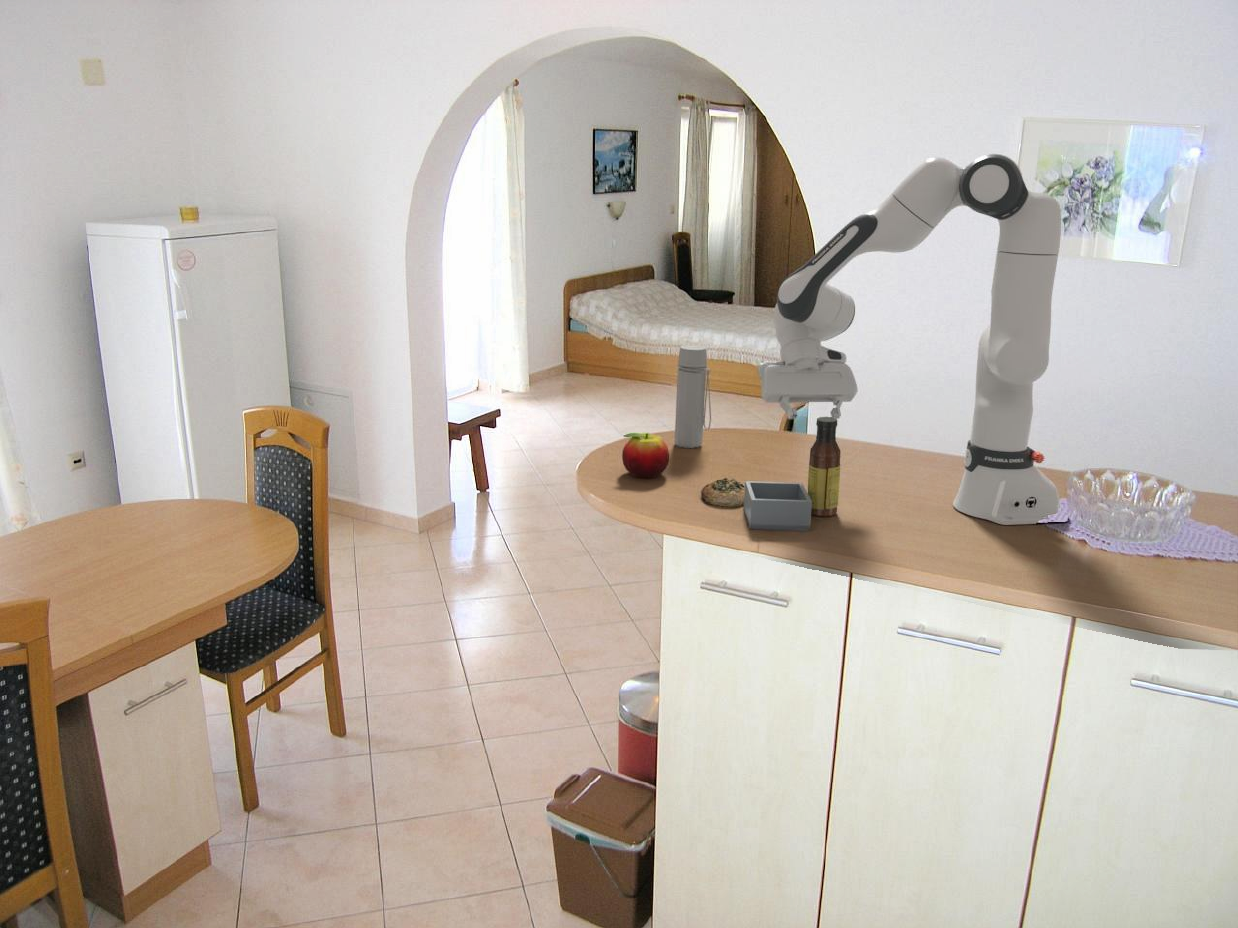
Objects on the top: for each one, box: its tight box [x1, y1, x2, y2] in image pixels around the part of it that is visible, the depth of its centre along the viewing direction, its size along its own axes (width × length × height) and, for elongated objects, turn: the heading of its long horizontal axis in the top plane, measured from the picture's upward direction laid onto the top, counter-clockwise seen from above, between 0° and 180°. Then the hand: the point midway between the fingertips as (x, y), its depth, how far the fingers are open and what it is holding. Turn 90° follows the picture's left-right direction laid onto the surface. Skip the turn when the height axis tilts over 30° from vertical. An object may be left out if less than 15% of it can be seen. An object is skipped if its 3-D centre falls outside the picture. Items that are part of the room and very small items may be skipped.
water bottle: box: [674, 344, 712, 449], centre depth 237 cm, size 9×8×25 cm
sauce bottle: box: [807, 416, 842, 517], centre depth 192 cm, size 7×6×20 cm
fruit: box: [621, 432, 670, 479], centre depth 215 cm, size 11×11×10 cm
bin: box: [743, 480, 812, 532], centre depth 190 cm, size 12×12×6 cm
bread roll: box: [700, 477, 745, 508], centre depth 202 cm, size 11×11×5 cm
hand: (814, 417), depth 197 cm, fingers open, 8 cm apart
